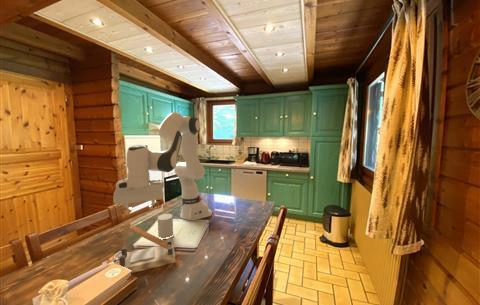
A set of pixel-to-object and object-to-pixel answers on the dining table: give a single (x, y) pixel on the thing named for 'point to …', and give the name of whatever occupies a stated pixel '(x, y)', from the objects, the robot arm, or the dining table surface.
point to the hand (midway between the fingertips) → (140, 210)
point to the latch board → (147, 257)
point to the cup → (165, 225)
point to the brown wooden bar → (150, 237)
